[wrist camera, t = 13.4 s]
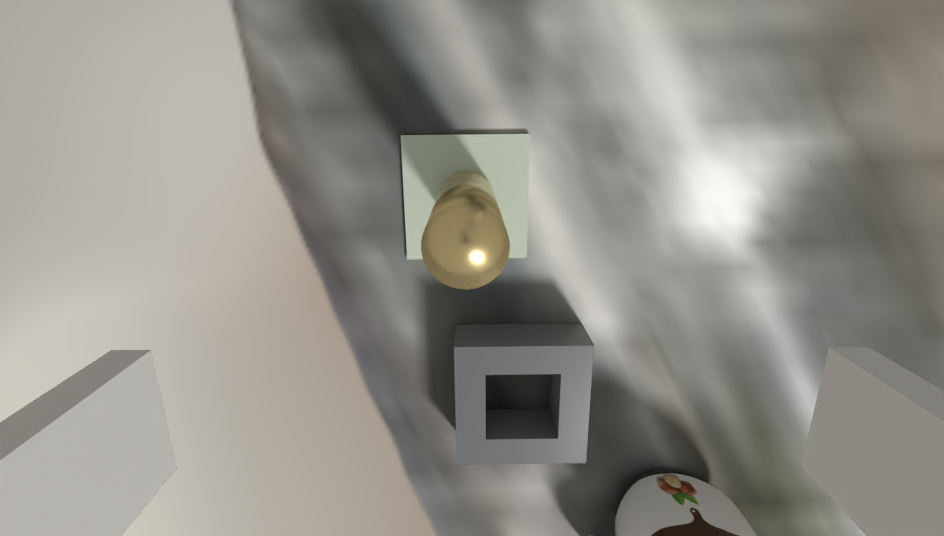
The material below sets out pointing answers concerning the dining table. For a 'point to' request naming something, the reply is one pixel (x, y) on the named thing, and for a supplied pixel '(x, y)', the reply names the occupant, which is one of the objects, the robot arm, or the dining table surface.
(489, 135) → the mat
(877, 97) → the dining table surface
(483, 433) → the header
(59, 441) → the robot arm
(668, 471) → the spread jar
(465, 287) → the plug
